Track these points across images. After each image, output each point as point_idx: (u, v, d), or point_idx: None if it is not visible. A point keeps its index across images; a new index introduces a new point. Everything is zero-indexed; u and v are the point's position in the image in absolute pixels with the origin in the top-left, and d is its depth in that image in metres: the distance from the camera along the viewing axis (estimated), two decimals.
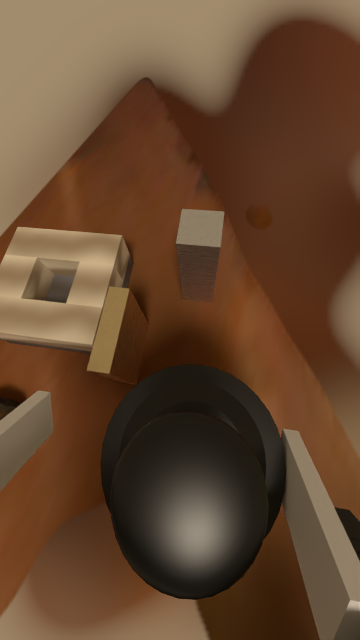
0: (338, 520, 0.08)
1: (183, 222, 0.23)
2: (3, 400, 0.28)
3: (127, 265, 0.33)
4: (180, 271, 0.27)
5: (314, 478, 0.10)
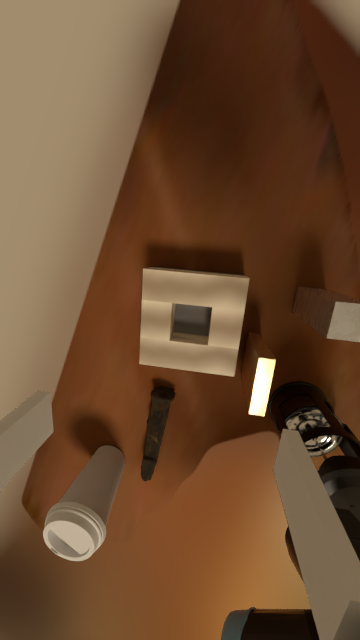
0: (338, 520, 0.08)
1: (335, 316, 0.25)
2: (165, 394, 0.42)
3: None
4: (310, 325, 0.31)
5: (314, 478, 0.10)
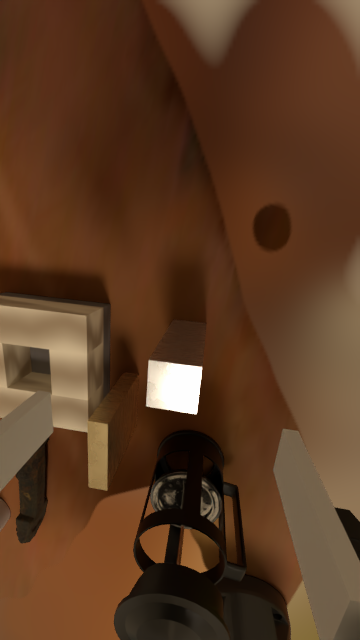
0: (338, 520, 0.08)
1: (152, 379, 0.19)
2: None
3: (103, 321, 0.29)
4: None
5: (314, 478, 0.10)
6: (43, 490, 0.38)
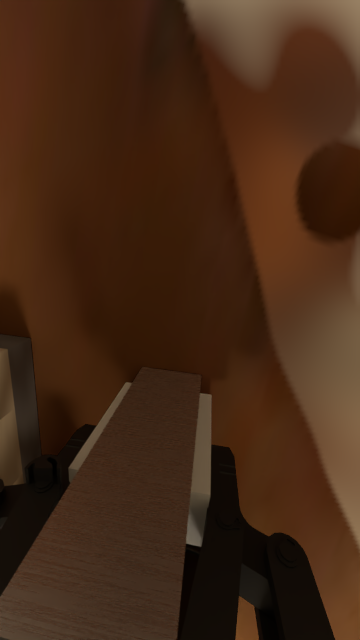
0: (209, 449, 0.11)
1: None
2: None
3: (11, 373, 0.16)
4: None
5: (206, 424, 0.12)
6: None
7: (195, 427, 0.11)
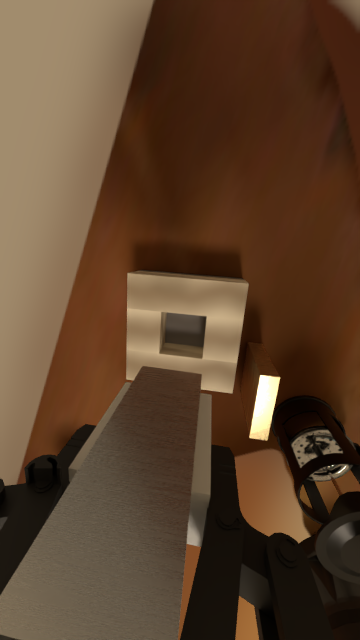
0: (209, 449, 0.11)
1: None
2: None
3: None
4: None
5: (206, 424, 0.12)
6: None
7: (196, 426, 0.11)
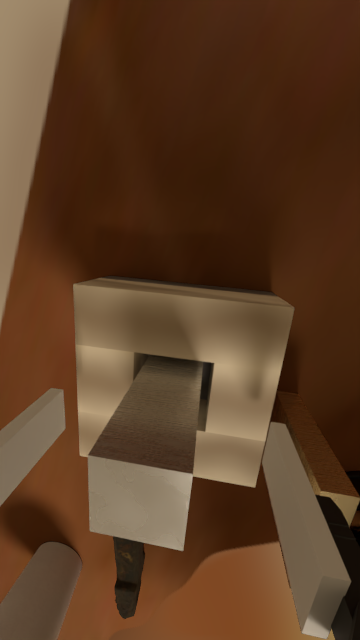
0: (317, 505, 0.09)
1: (97, 488, 0.10)
2: None
3: None
4: None
5: (297, 467, 0.10)
6: (142, 543, 0.29)
7: (200, 378, 0.15)
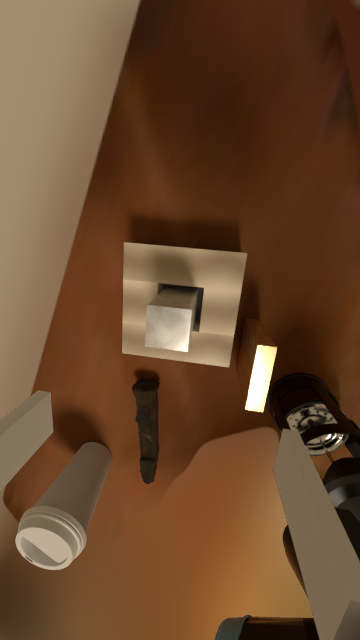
0: (338, 520, 0.08)
1: (150, 321, 0.22)
2: (147, 385, 0.38)
3: None
4: None
5: (314, 478, 0.10)
6: (157, 434, 0.41)
7: (196, 294, 0.28)
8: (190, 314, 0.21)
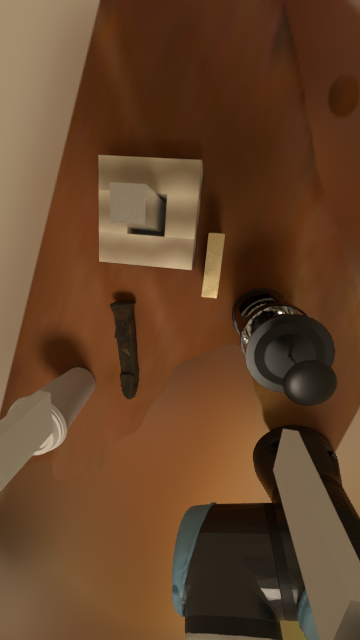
0: (338, 520, 0.08)
1: (113, 197, 0.27)
2: (124, 302, 0.42)
3: (201, 183, 0.36)
4: None
5: (314, 478, 0.10)
6: (136, 353, 0.46)
7: (159, 198, 0.32)
8: (145, 188, 0.26)
